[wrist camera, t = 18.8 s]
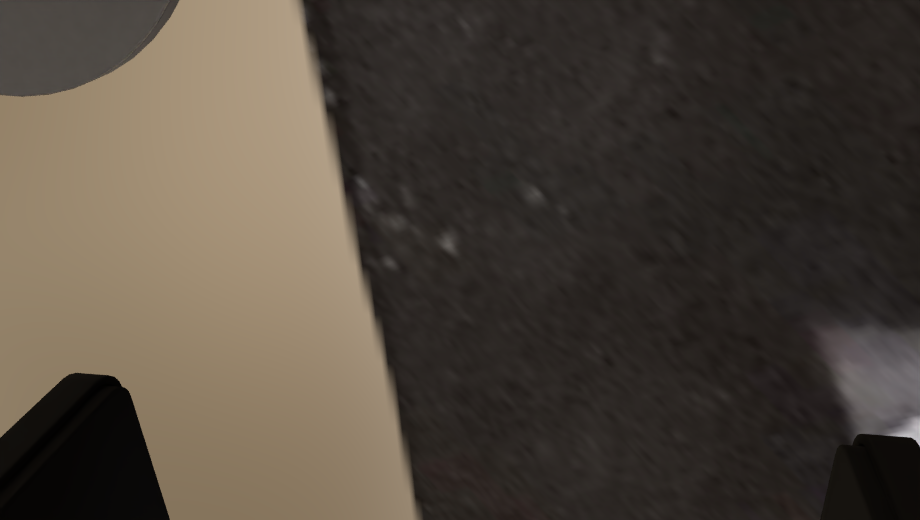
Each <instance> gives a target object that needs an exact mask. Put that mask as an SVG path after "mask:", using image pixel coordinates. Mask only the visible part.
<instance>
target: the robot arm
mask: <svg viewBox="0 0 920 520" xmlns="http://www.w3.org/2000/svg"><path fill="white" fill-rule="evenodd" d="M0 520H170V519H169V515H168V513H167V509H166V506H165V503H164V499H163V497H162V493H161V490H160V487H159V484H158V480H157V477H156V474H155V471H154V468H153V465H152V461H151V458H150V455H149V452H148V449H147V446H146V442H145V439H144V436H143V433H142V430H141V427H140V423H139V420H138V417H137V414H136V411H135V408H134V405H133V401H132V398H131V395H130V393H129V391H128V390H127V389H126V388H123V387H122V386H121V384H120V382H119V381H118V380H117V379H116V378H115V377H113V376H109V375H95V374H82V373H74V374H69V375H68V376H66V377H65V378H63V379H62V380H61V381H60V382H59V383H58V384H57V385H56V386H55V387H54V388H53V389H52V390H51V391H50V392H49V393H47V394H46V395H45V396H44V397H43V398H42V399H41V400H40V401H39V402H38V403H37V404H36V405H35V406H34V407H33V408H32V409H30V410H29V411H28V412H27V413H26V414H25V415H24V416H23V417H22V418H21V419H20V420H19V421H18V422H17V423H16V424H15V425H14V426H12V428H10V429H9V430H8V431H7V432H6V433H5V434H4V435H3V436H2V437H1V438H0ZM821 520H920V446H919V445H918V443H917V442H916V441H915V440H914V439H912V438H908V437H895V436H882V435H870V434H859V435H857V437H856V438H855V439H854V442H853V445H852V446H850V445H840V446H839V447H838V448H837V451H836V454H835V459H834V463H833V467H832V472H831V476H830V480H829V485H828V489H827V493H826V498H825V502H824V507H823V511H822V515H821Z"/></svg>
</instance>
